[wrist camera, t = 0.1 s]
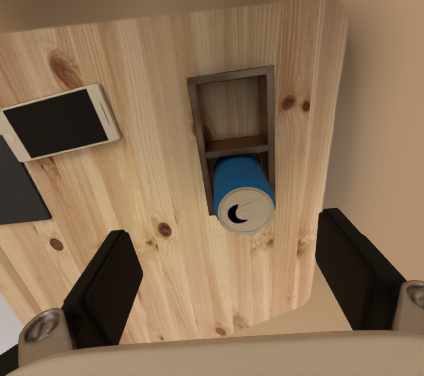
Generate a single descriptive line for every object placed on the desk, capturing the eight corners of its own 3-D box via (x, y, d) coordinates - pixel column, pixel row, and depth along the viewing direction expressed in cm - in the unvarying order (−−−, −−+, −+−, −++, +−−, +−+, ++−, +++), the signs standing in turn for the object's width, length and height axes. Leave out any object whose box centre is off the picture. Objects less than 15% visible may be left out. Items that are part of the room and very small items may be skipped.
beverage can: (206, 160, 33) (201, 201, 22) (246, 138, 31) (263, 172, 21) (226, 194, 35) (231, 247, 25) (265, 176, 34) (288, 223, 23)
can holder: (191, 77, 28) (186, 78, 24) (264, 66, 27) (274, 64, 23) (210, 198, 36) (209, 216, 31) (267, 191, 35) (275, 209, 30)
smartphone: (-8, 111, 30) (-14, 112, 29) (100, 82, 28) (96, 82, 27) (24, 161, 33) (19, 163, 32) (122, 138, 31) (120, 139, 31)
